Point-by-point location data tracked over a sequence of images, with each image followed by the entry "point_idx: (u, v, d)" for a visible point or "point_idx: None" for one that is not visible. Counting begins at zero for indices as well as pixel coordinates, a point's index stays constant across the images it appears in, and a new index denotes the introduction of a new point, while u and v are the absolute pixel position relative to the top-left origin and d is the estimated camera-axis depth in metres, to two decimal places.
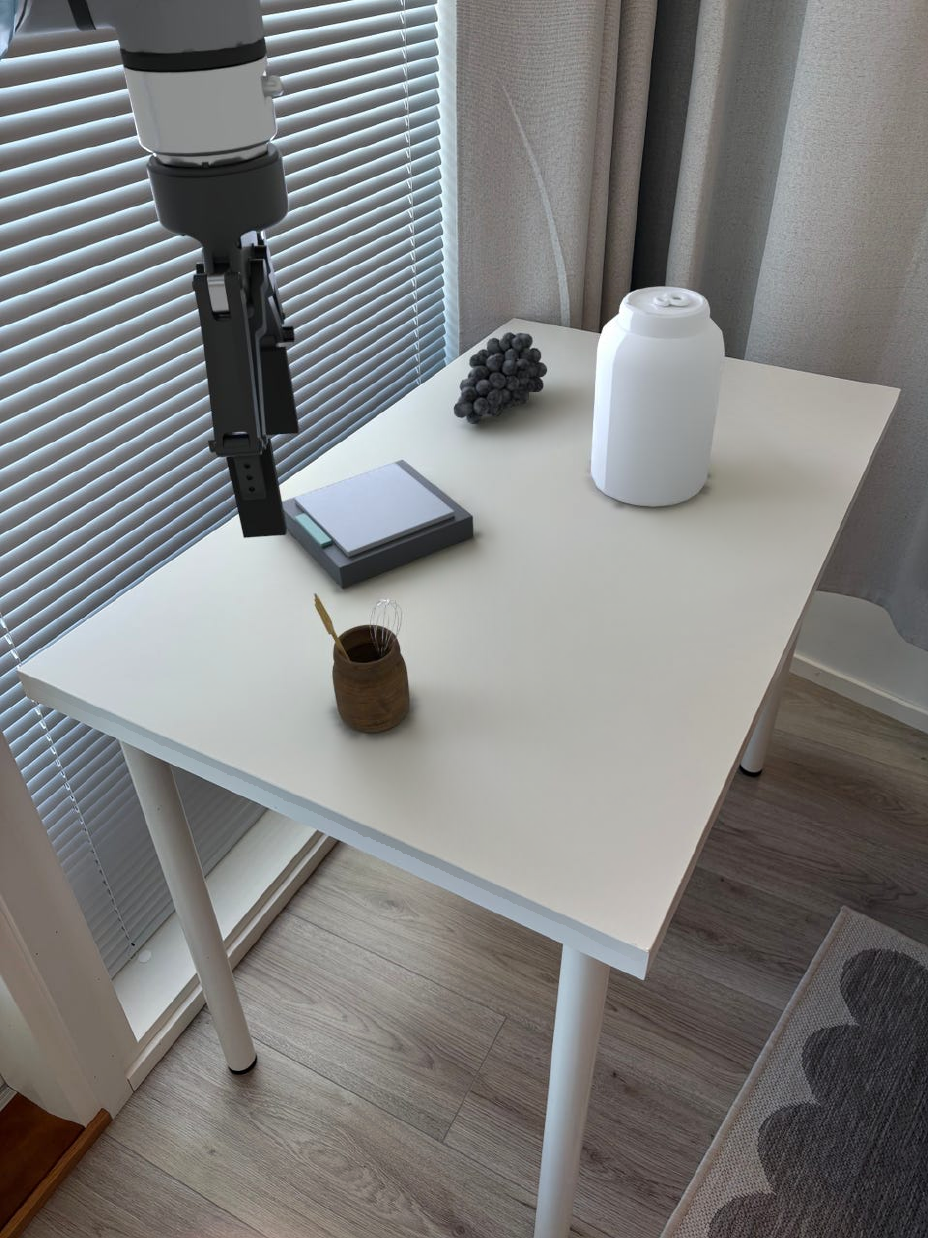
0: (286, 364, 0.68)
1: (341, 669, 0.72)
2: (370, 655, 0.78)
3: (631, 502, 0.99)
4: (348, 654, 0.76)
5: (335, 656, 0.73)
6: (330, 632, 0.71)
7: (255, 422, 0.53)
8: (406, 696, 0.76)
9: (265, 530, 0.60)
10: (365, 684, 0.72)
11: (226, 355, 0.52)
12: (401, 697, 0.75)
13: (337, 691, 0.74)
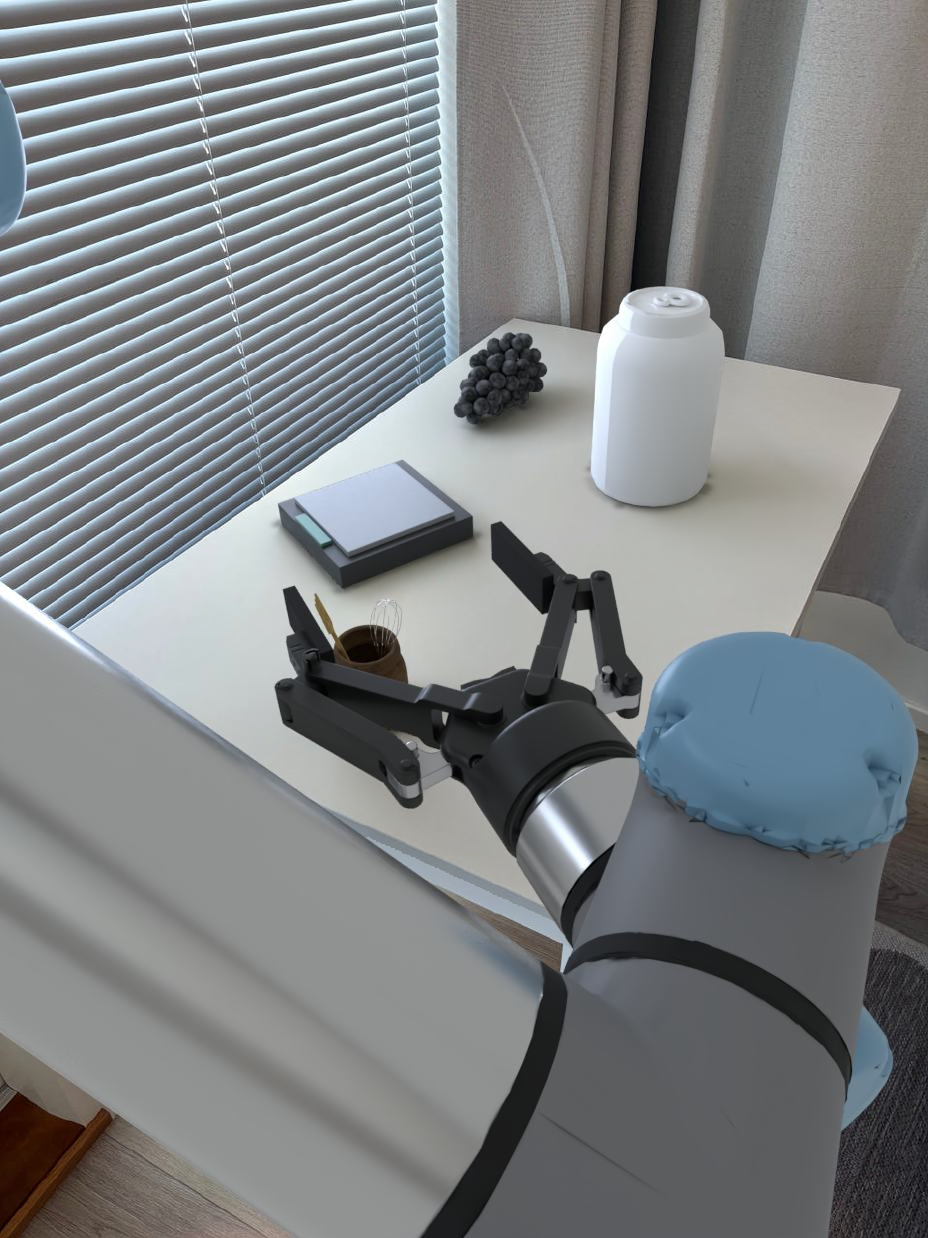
0: (533, 604, 0.57)
1: None
2: (370, 655, 0.78)
3: (631, 502, 0.99)
4: (348, 654, 0.76)
5: (335, 656, 0.73)
6: (330, 632, 0.71)
7: (302, 733, 0.49)
8: None
9: (288, 612, 0.56)
10: None
11: (351, 749, 0.47)
12: None
13: None
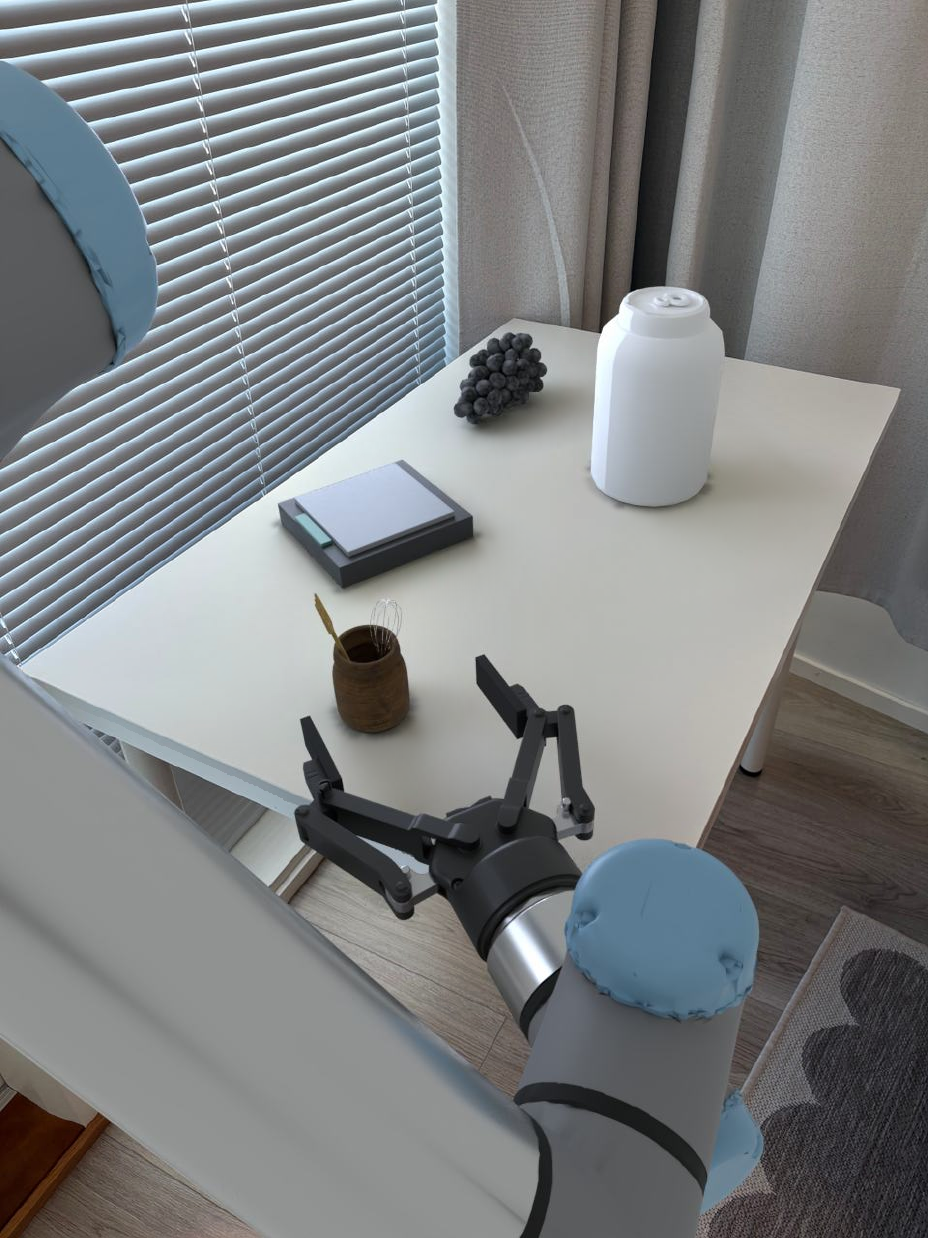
0: (510, 729, 0.68)
1: (341, 669, 0.72)
2: (370, 655, 0.78)
3: (631, 502, 0.99)
4: (348, 654, 0.76)
5: (335, 656, 0.73)
6: (330, 632, 0.71)
7: (316, 850, 0.60)
8: (406, 696, 0.76)
9: (304, 737, 0.66)
10: (365, 684, 0.72)
11: (356, 868, 0.58)
12: (401, 697, 0.75)
13: (337, 691, 0.74)
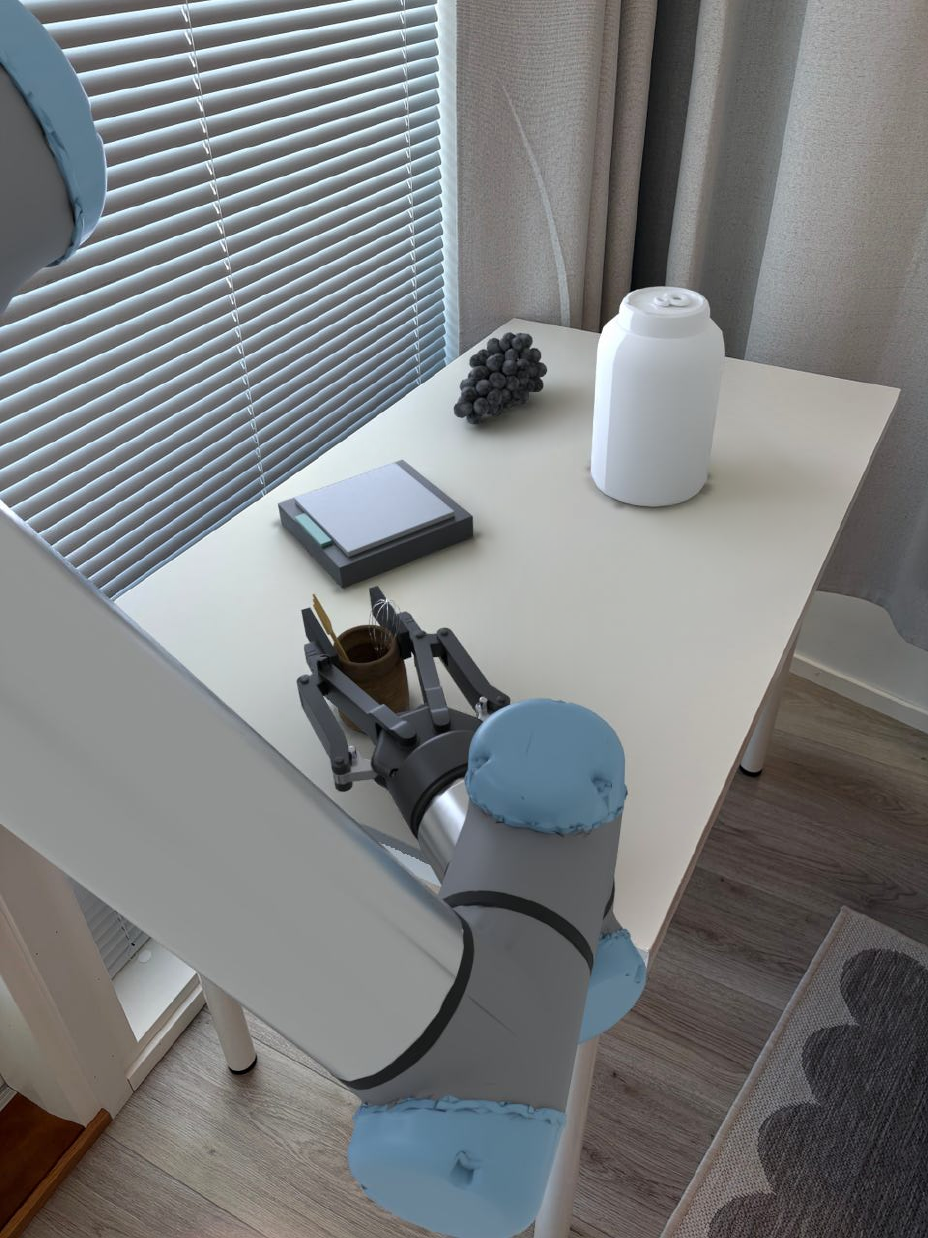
0: None
1: None
2: (369, 655, 0.78)
3: (631, 502, 0.99)
4: (347, 654, 0.76)
5: None
6: (329, 632, 0.71)
7: (307, 716, 0.70)
8: (406, 696, 0.76)
9: (305, 627, 0.76)
10: (365, 684, 0.72)
11: (322, 737, 0.66)
12: (400, 697, 0.75)
13: None
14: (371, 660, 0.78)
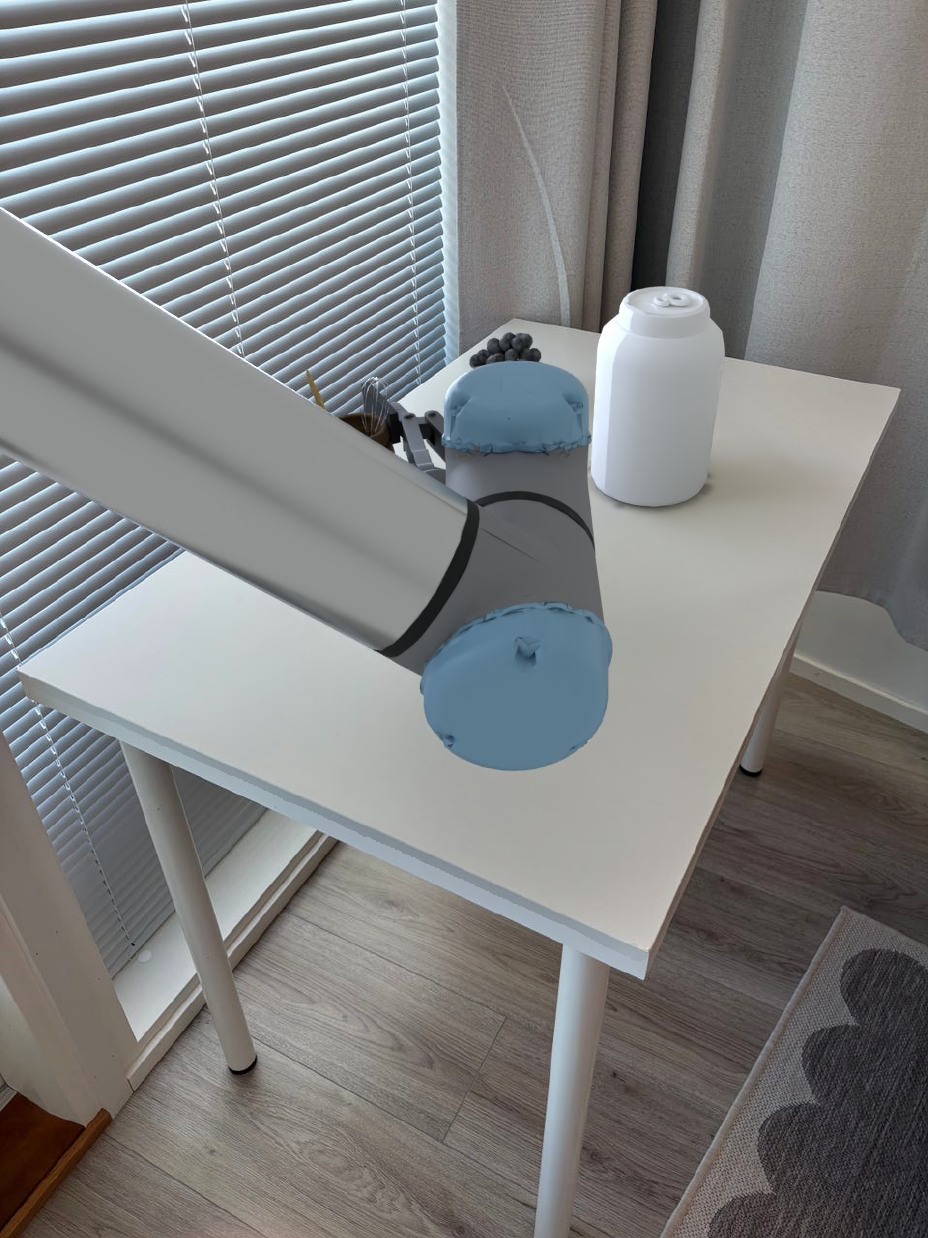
0: None
1: None
2: None
3: (631, 502, 0.99)
4: None
5: None
6: None
7: None
8: None
9: None
10: None
11: None
12: None
13: None
14: None
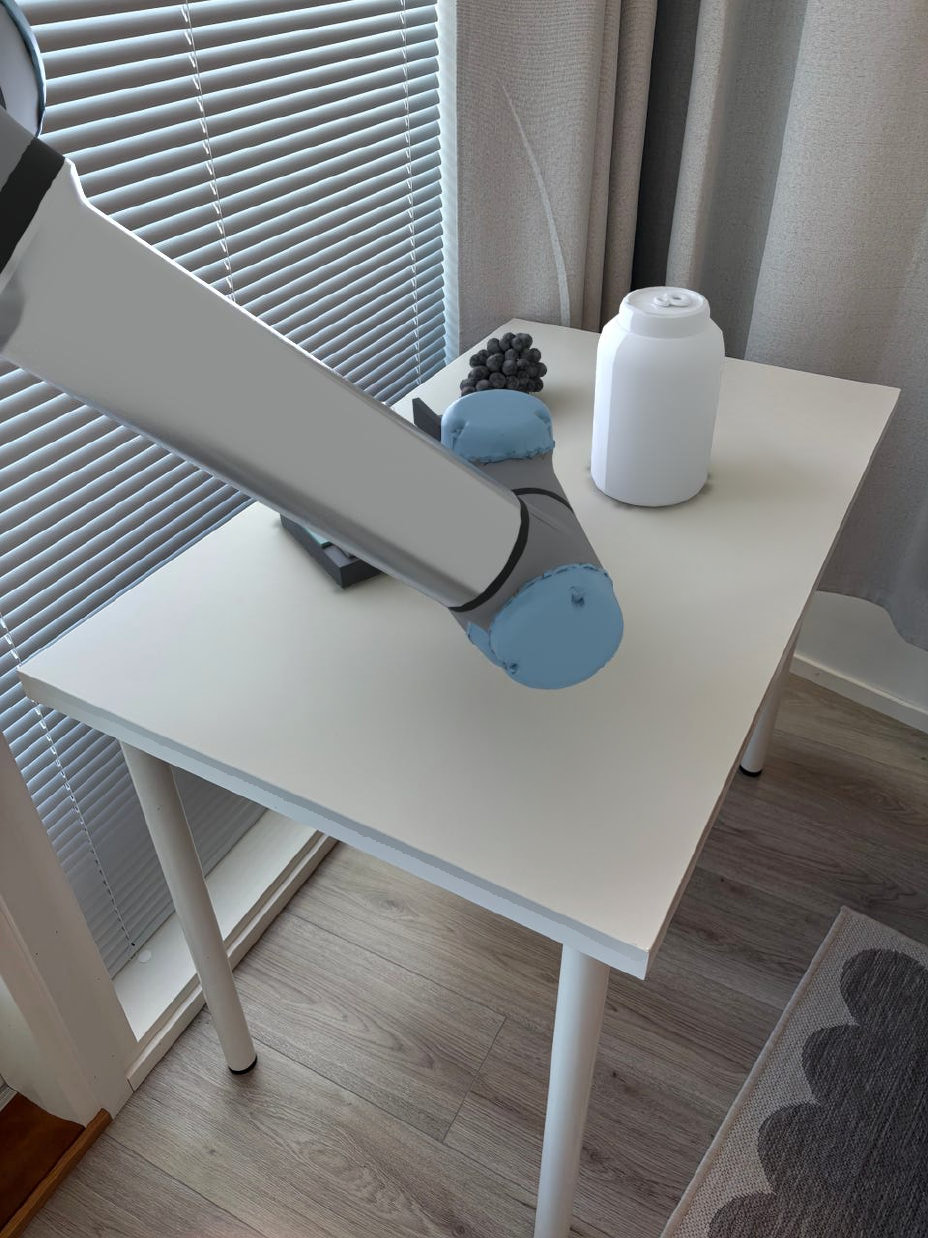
0: None
1: None
2: None
3: (631, 502, 0.99)
4: None
5: None
6: None
7: None
8: None
9: None
10: None
11: None
12: None
13: None
14: None
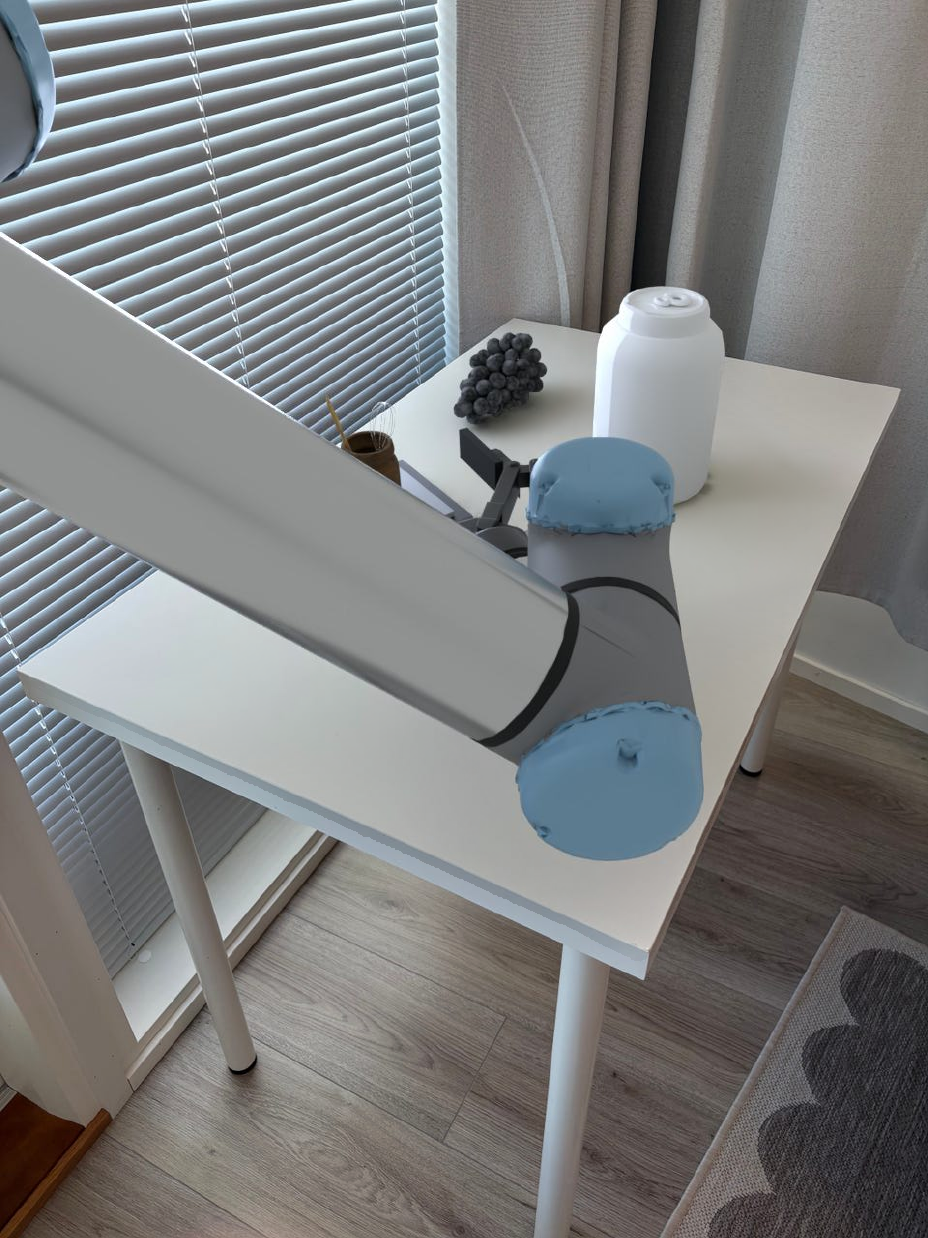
0: (489, 485, 0.79)
1: None
2: None
3: None
4: None
5: None
6: (338, 427, 0.89)
7: None
8: None
9: None
10: None
11: None
12: None
13: None
14: None
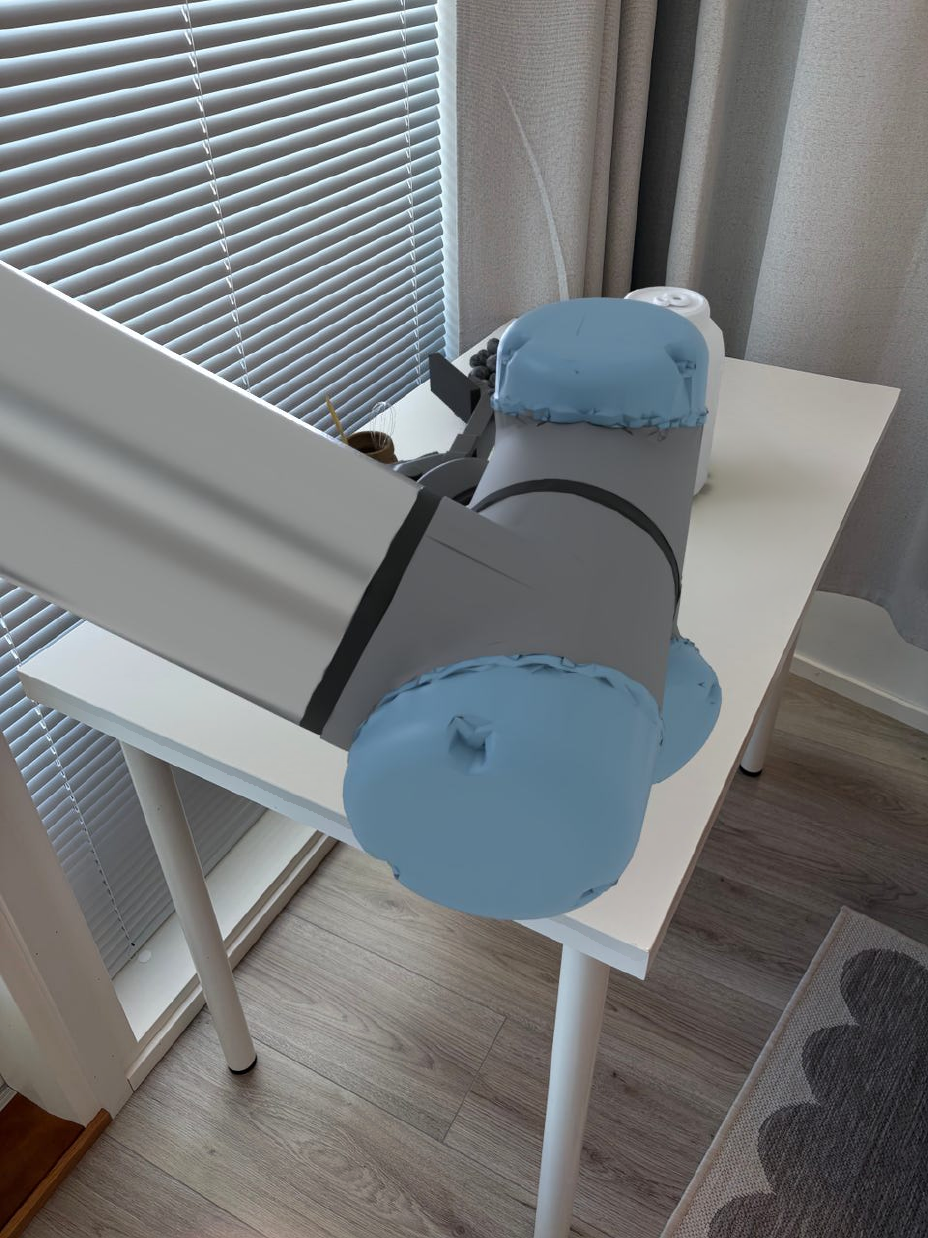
0: (464, 421, 0.63)
1: None
2: None
3: None
4: None
5: None
6: (338, 427, 0.89)
7: None
8: None
9: None
10: None
11: None
12: None
13: None
14: None
